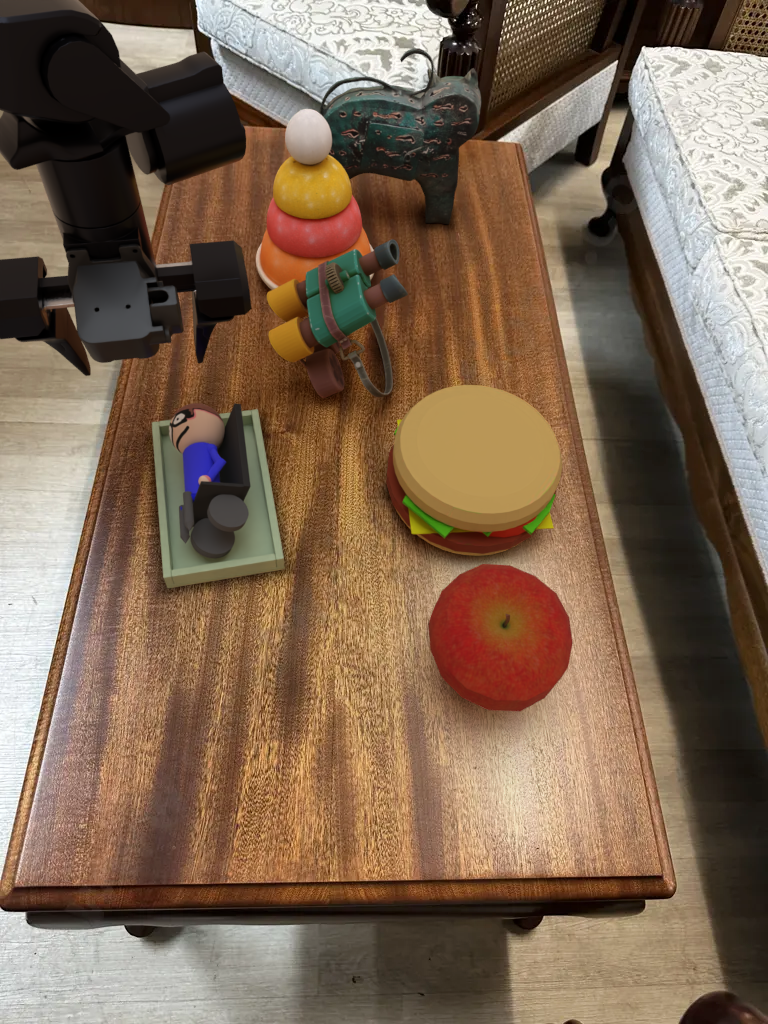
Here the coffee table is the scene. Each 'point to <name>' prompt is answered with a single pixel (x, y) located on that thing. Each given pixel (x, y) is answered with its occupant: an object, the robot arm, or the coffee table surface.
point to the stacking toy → (309, 207)
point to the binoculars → (335, 316)
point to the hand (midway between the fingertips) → (144, 365)
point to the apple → (500, 637)
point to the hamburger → (474, 470)
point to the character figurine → (211, 477)
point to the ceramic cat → (406, 132)
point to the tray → (253, 541)
